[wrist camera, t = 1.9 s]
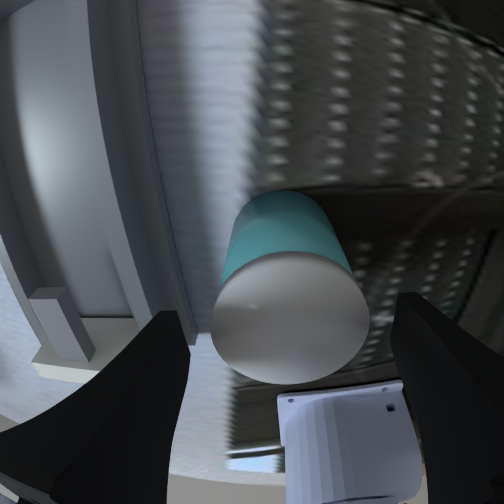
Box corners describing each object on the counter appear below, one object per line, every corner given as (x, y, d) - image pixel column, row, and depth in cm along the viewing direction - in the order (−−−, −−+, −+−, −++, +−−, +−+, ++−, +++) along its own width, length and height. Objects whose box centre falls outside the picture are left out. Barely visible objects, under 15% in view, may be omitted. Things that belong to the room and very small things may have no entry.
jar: (332, 185, 15) (377, 257, 9) (332, 277, 17) (360, 376, 11) (224, 194, 15) (195, 271, 9) (237, 284, 18) (224, 386, 11)
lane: (133, -49, 9) (97, -79, 6) (197, 334, 19) (185, 383, 16) (-21, 30, 10) (-65, 32, 7) (58, 331, 20) (34, 368, 17)
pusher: (123, 255, 16) (88, 305, 12) (150, 334, 18) (129, 388, 14) (37, 263, 16) (-3, 304, 12) (68, 331, 18) (40, 376, 15)
